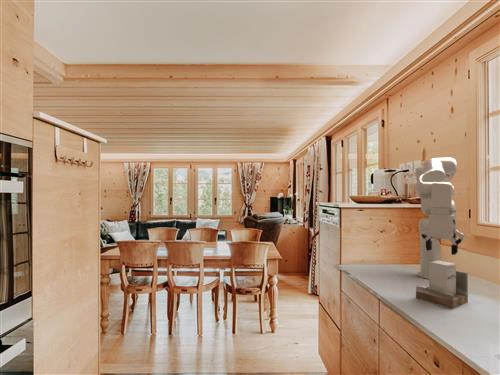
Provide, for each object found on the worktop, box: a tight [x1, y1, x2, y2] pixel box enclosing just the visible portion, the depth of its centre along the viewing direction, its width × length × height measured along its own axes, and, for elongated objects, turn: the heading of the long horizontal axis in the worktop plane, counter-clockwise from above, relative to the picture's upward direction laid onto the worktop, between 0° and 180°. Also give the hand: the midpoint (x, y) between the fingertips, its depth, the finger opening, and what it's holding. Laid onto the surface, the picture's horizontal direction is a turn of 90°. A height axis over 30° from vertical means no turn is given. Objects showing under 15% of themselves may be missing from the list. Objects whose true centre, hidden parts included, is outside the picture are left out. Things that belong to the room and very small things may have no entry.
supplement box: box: [428, 260, 457, 294], centre depth 128 cm, size 7×7×13 cm
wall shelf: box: [415, 269, 469, 309], centre depth 128 cm, size 14×14×12 cm
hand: (441, 252), depth 128 cm, fingers open, 9 cm apart
